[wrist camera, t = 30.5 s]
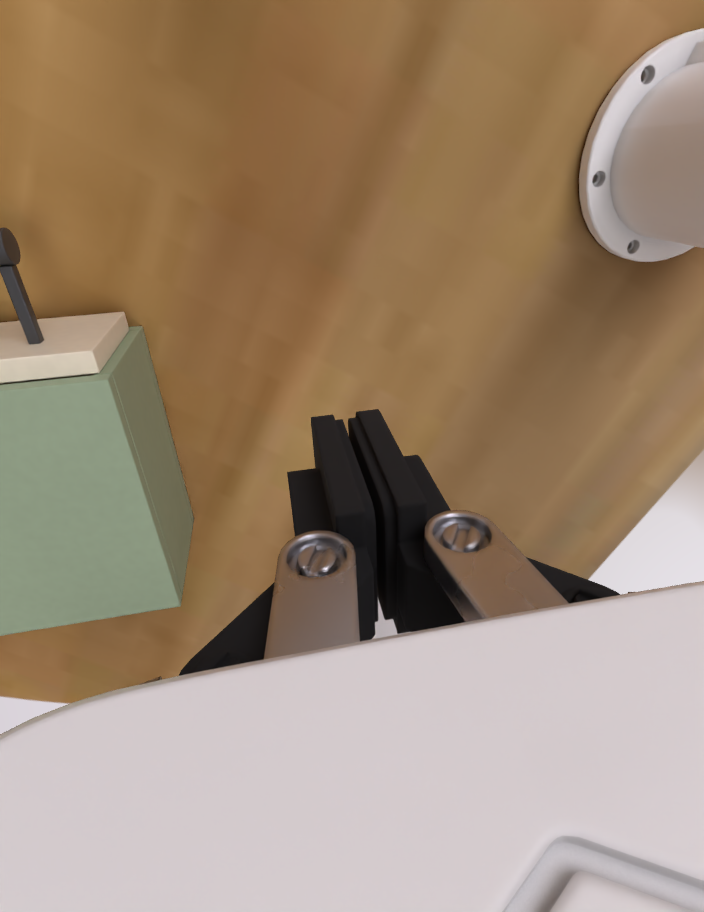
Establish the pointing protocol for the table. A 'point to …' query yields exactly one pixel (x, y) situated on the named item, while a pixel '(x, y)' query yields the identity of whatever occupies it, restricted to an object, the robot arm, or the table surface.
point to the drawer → (50, 333)
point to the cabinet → (90, 497)
